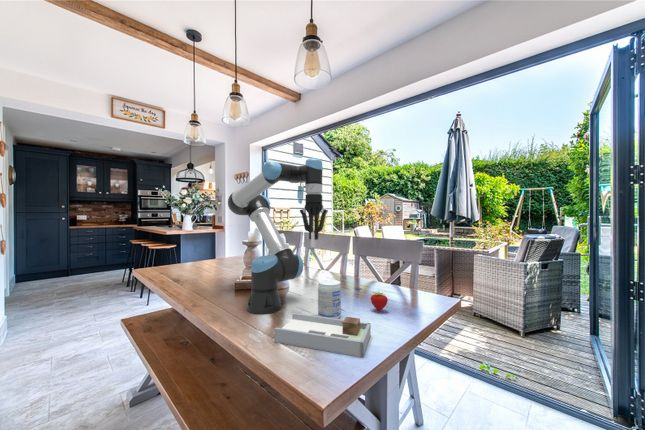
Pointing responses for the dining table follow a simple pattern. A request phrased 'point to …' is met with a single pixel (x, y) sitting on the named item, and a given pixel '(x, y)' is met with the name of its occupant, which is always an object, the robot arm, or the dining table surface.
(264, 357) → the dining table surface
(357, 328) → the walnut block
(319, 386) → the dining table surface
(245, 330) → the dining table surface
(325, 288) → the supplement tub
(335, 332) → the box
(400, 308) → the dining table surface
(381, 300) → the strawberry
